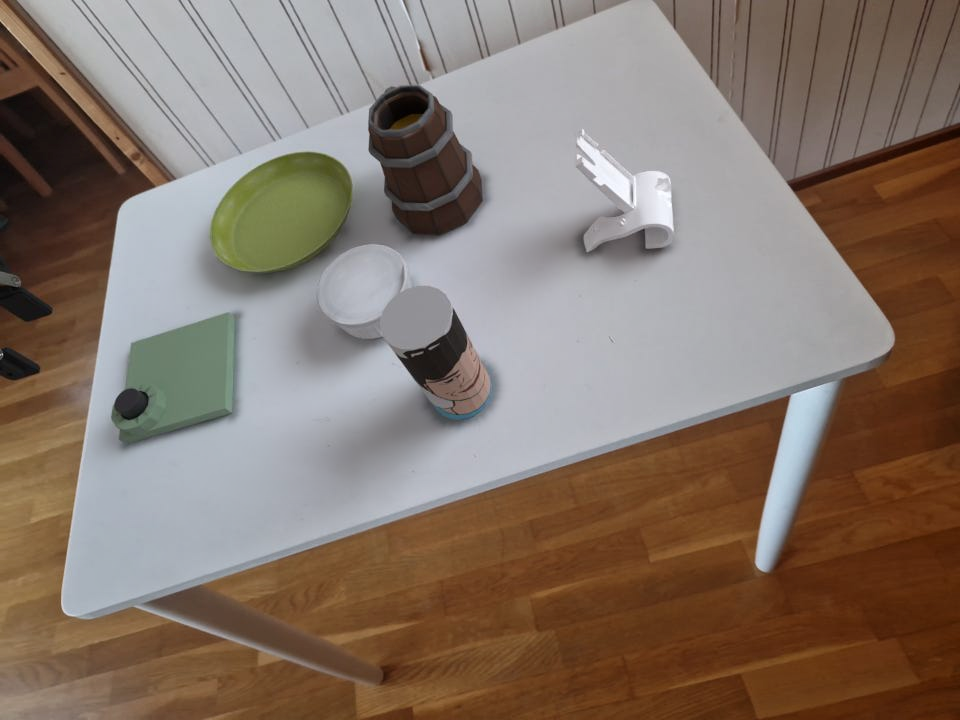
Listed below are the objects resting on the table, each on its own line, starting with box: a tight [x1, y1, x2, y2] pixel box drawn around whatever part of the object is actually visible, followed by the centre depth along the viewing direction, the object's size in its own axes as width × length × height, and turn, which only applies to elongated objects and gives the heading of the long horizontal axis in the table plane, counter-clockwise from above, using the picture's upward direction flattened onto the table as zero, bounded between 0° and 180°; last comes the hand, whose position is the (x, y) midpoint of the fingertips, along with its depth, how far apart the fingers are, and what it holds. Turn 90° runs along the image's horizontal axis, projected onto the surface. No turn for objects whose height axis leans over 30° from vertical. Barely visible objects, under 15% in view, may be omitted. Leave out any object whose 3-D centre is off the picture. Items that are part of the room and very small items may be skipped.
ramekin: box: [316, 243, 413, 340], centre depth 78 cm, size 11×11×5 cm
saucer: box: [209, 151, 354, 274], centre depth 90 cm, size 21×21×3 cm
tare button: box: [113, 388, 148, 419], centre depth 78 cm, size 3×3×2 cm
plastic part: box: [574, 128, 675, 253], centre depth 72 cm, size 8×10×12 cm
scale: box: [110, 312, 236, 445], centre depth 82 cm, size 14×14×3 cm
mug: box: [367, 84, 484, 236], centre depth 81 cm, size 16×12×15 cm
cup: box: [380, 285, 493, 421], centre depth 66 cm, size 7×7×15 cm
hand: (33, 343), depth 66 cm, fingers open, 6 cm apart
